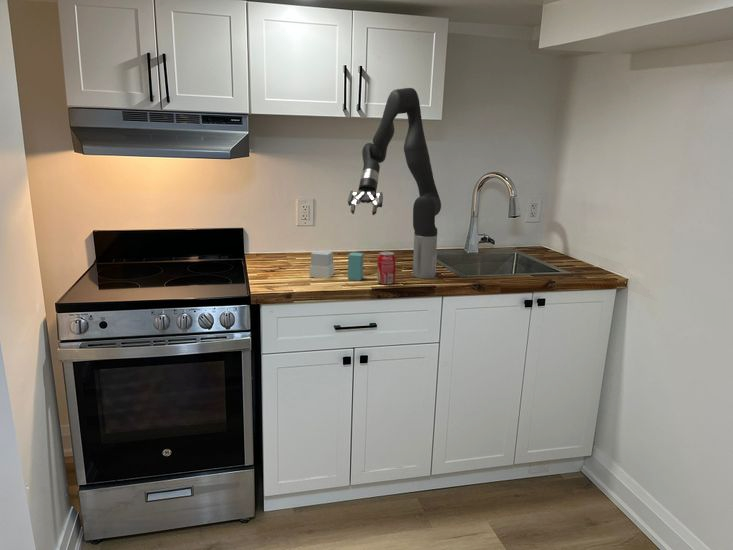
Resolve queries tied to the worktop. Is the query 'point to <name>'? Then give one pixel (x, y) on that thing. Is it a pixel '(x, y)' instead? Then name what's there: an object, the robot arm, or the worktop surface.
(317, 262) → the tower top
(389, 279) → the soda can
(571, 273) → the worktop surface
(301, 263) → the worktop surface
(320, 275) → the tower base
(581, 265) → the worktop surface
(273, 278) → the worktop surface
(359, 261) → the pillar
